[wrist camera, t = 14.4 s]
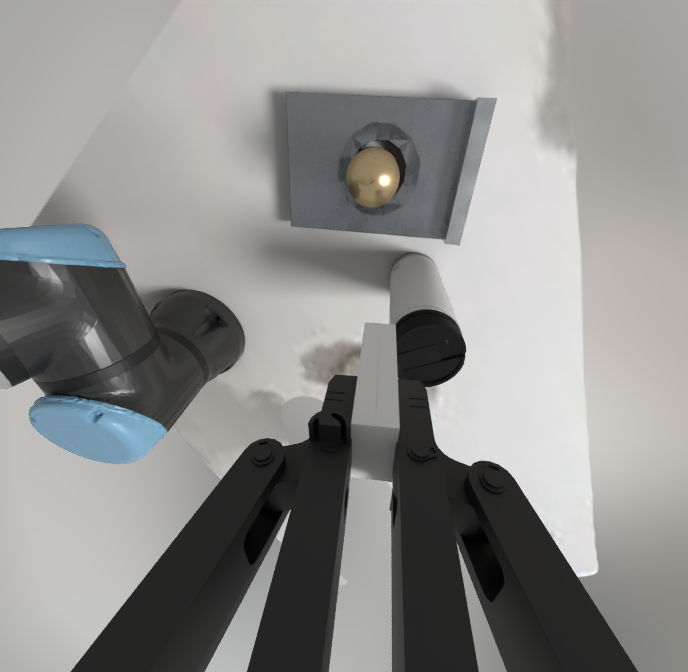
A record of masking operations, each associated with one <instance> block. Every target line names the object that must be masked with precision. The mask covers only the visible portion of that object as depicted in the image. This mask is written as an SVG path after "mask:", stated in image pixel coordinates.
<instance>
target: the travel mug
mask: <svg viewBox="0 0 688 672" xmlns="http://www.w3.org/2000/svg"><path fill="white" fill-rule="evenodd" d="M390 324H396V347H397V372H398V378H399V379H404V380H416V381H421V383H422V384H423V386H424V387H432V386H437V385H439V384H442V383H444V382H446V381H448V380H450V379H451V378H452V377H454V376H455V375H456V374H457V373H458V372H459V371H460V369H461V368H462V366H463V365H464V360H465V353H466V345H465V342H464V339H463V336H462V334H461V329H460V327H459V324H458V321H457V319H456V316H455V314H454V311H453V308H452V306H451V303H450V301H449V298H448V295H447V293H446V290H445V288H444V285H443V282H442V280H441V277H440V275H439V272H438V270H437V267H436V264H435V263H434V261H433V260H432V259H431V258H430V257H428V256H426V255H424V254H421V253H411V254H407V255H405V256H403V257H401V258H400V259H398V260H397V261H396V262H395V264H394V265H393V267H392V270H391V274H390Z"/></svg>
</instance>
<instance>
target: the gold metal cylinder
mask: <svg viewBox="0 0 688 672" xmlns="http://www.w3.org/2000/svg"><path fill="white" fill-rule="evenodd" d="M399 180H400V173H399V168H398V164H397V162H396V160H395V158H394V157H393V155H392V154H391V153H389V152H388V151H386V150H384V149H381V148H376V147H375V148H367V149H364V150H362V151H361V152H359V153H358V154H357V155H356V156H355V157H354V158H353V159H352V161H351V162H350V165H349V167H348V170H347V176H346V182H347V187H348V190H349V193H350V195H351V196H352V198H353V199H354V200H355V201H356V202H357V203H359V204H360V205H363V206H365V207H379V206H381V205H384V204H385V203H387V202H388V201H389V200H390V199H391V198H392V197H393V196H394V194H395V193H396V191H397V188H398V185H399Z"/></svg>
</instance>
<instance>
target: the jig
mask: <svg viewBox="0 0 688 672" xmlns="http://www.w3.org/2000/svg"><path fill="white" fill-rule="evenodd" d="M286 100H287V126H288V152H289V178H290V204H291V226H295V227H306V228H318V229H329V230H341V231H352V232H364V233H375V234H387V235H398V236H410V237H421V238H433V239H443V241H444V243H445V244H454V245H460V241H461V237H462V233H463V230H464V226H465V222H466V218H467V214H468V210H469V206H470V202H471V198H472V194H473V190H474V186H475V183H476V179H477V175H478V171H479V167H480V163H481V159H482V155H483V151H484V147H485V143H486V139H487V136H488V132H489V128H490V124H491V120H492V116H493V112H494V108H495V104H496V100H497V98H477V99H475V100H474V101H468V100H446V99H425V98H403V97H381V96H360V95H338V94H317V93H295V92H286ZM373 140H387V141H390V142H391V143H393V144H394V145H395V146H396V147H398V148H399V149H400V150H401V152H402V155H403V158H404V161H405V164H406V167H405V174H404V181H403V182H402V184H401V185H400V187H399V188H398V189H397V191H396V193H395V194H394V196H393V197H392V198H391V199H390V200H389V201H388V202H387V203H385V204H384V205H381V206H379V207H365V206H363V205H360V204H359V203H357V202H356V201H355V200H354V199H353V198H352V196H351V195H350V193H349V190H348V187H347V182H346V176H347V170H348V167H349V165H350V162H351V161H352V159H353V158H354V157H355V156H356V155H357V154H358V153H359V151H360V150H361V148H362V147H363V146H365V145H367V144H368V143H370V142H372V141H373Z"/></svg>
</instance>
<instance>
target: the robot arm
mask: <svg viewBox="0 0 688 672" xmlns="http://www.w3.org/2000/svg"><path fill="white" fill-rule="evenodd" d="M125 268H126V265H125V264H124V263H122V262H121V260H120V259H119V257H118V255H117V254H116V252H115V250H114V249H113V247H112V245H111V243H110V242H109V240H108V238H107V237H106V235H105V234H104V233H103V232H102V231H100V230H99V229H97V228H95V227H93V226H91V225H87V224H62V225H47V226H33V227H21V228H5V229H0V388H1V389H8V388H11V387H13V386H15V385H17V384H19V383H21V382H24V381H26V380H28V379H30V378H32V379H33V380H34V381H35V382H36V384H37V385H38V386H39V387H40V388H41V390H42V391H43V392H44V394H45V397H41V398H39V399H37V400H36V401H35V402H34V405H33V406H32V407H31V408H30V410H29V416H30V422H31V424H32V425H33V427H34V428H35V429H36V430H37V431H38V432H39V433H40V434H41V435H43V436H44V437H45V438H47V439H48V440H49V441H51V442H53V443H54V444H56V445H58V446H59V447H61V448H63V449H65V450H67V451H69V452H72V453H74V454H76V455H79V456H82V457H85V458H88V459H91V460H95V461H99V462H104V463H111V464H125V463H130V462H134V461H137V460H139V459H141V458H142V457H144V456H145V455H146V454H147V453H149V451H150V450H151V449H152V448H153V447H154V446H155V445H156V444H157V443H158V441H159V440H160V439H162V438H164V437H165V435H166V434H167V432H168V431H169V430H170V428H171V427H172V426H173V425H174V423H175V422H176V421H177V419H178V418H179V417H180V416H181V414H182V413H183V412H184V410H185V409H186V408H187V407H188V405H189V404H190V403H191V401H192V400H193V399H194V398H195V396H196V395H197V394H198V392H199V391H200V390H201V388H202V387H203V386H204V385H205V384H206V383H207V382H208V381H210V380H212V379H214V378H215V377H217V376H218V375H219V374H222V373H224V372H226V371H228V370H229V369H230V368H232V367H233V366H234V365H235V363H236V362H237V361H238V359H239V358H240V357H241V355H242V353H243V351H244V347H245V336H244V332H243V329H242V327H241V324H240V322H239V321H238V319H237V318H236V316H235V315H234V314H233V313H232V311H231V310H230V309H229V308H228V307H227V306H225V305H224V304H223V303H222V302H220V301H219V300H217V299H216V298H214V297H212V296H210V295H207V294H205V293H202V292H198V291H192V290H182V291H177V292H174V293H172V294H170V295H169V296H167V297H165V298H164V299H162V300H161V301H160V302H158V303H157V304H156V306H155V307H154V308H153V310H152V312H151V314H150V317H149V315H148V313H147V311H146V309H145V307H144V305H143V303H142V301H141V300H140V298H139V296H138V294H137V292H136V289H135V287H134V285H133V283H132V281H131V279H130V277H129V275H128V273H127V271H126V269H125ZM308 427H309V439H308V440H306V441H304V442H302V443H298V444H294V445H288V446H282V444H281V443H280V442H279V441H277V440H275V439H269V438H266V439H260V440H257V441H255V442H253V443H252V444H250V445H249V446H248V447H247V448H246V449H245V450H244V452H243V453H242V454H241V455H240V457H239V458H238V459H237V461H236V462H235V463H234V464H233V466H232V467H231V468H230V469H229V471H228V472H227V473H226V475H225V476H224V477H223V478H222V480H221V481H220V482H219V484H218V485H217V486H216V487H215V489H214V490H213V491H212V492H211V494H210V495H209V496H208V498H207V499H206V500H205V501H204V503H203V504H202V505H201V506H200V508H199V509H198V510H197V511H196V513H195V514H194V515H193V517H192V518H191V519H190V520H189V522H188V523H187V524H186V525H185V527H184V528H183V529H182V531H181V532H180V533H179V535H178V536H177V537H176V538H175V540H174V541H173V542H172V543H171V545H170V546H169V547H168V549H167V550H166V551H165V553H164V554H163V555H162V556H161V557H160V559H159V560H158V561H157V563H156V564H155V565H154V566H153V568H152V569H151V570H150V572H149V573H148V574H147V575H146V576H145V578H144V579H143V580H142V582H141V583H140V584H139V585H138V587H137V588H136V589H135V591H134V592H133V593H132V595H131V596H130V597H129V598H128V599H127V601H126V602H125V603H124V604H123V606H122V607H121V608H120V610H119V611H118V612H117V613H116V615H115V616H114V617H113V618H112V620H111V621H110V622H109V624H108V625H107V626H106V627H105V629H104V630H103V631H102V633H101V634H100V635H99V636H98V638H97V639H96V640H95V641H94V643H93V644H92V645H91V647H90V648H89V649H88V650H87V652H86V653H85V654H84V656H83V657H82V658H81V659H80V661H79V662H78V663H77V664H76V666H75V667H74V668H73V670H72V671H71V672H205V670H206V668H207V666H208V664H209V662H210V661H211V658H212V657H213V655H214V653H215V651H216V649H217V647H218V645H219V643H220V642H221V640H222V638H223V636H224V634H225V632H226V630H227V628H228V626H229V624H230V623H231V621H232V619H233V617H234V615H235V613H236V611H237V609H238V607H239V605H240V604H241V602H242V600H243V598H244V596H245V594H246V592H247V590H248V588H249V586H250V585H251V582H252V581H253V579H254V577H255V575H256V573H257V571H258V569H259V567H260V566H261V564H262V562H263V560H264V558H265V556H266V554H267V552H268V550H269V549H270V546H271V545H272V543H273V541H274V539H275V537H276V535H277V533H278V531H279V530H280V528H281V526H282V524H283V522H284V520H285V518H286V516H287V514H288V512H289V511H290V509H291V512H290V515H289V519H288V523H287V526H286V530H285V534H284V537H283V541H282V545H281V548H280V552H279V556H278V560H277V563H276V567H275V571H274V574H273V578H272V582H271V585H270V590H269V593H268V596H267V600H266V604H265V608H264V611H263V615H262V618H261V622H260V626H259V630H258V633H257V637H256V641H255V644H254V648H253V652H252V655H251V659H250V663H249V666H248V670H247V672H329V664H330V656H331V647H332V638H333V630H334V620H335V611H336V602H337V594H338V586H339V577H340V568H341V559H342V551H343V542H344V533H345V524H346V515H347V507H348V498H349V482H350V477H357V478H365V479H373V480H381V481H389V482H392V479H393V490H392V497H391V503H390V510H391V519H392V520H391V524H392V525H391V529H392V530H391V532H392V535H391V537H392V672H479V671H478V665H477V659H476V653H475V647H474V642H473V636H472V630H471V624H470V618H469V612H468V607H467V601H466V595H465V589H464V583H463V577H462V572H461V566H460V560H459V554H458V548H457V544H458V547H459V549H460V552H461V554H462V557H463V559H464V562H465V565H466V567H467V570H468V572H469V575H470V577H471V580H472V582H473V585H474V588H475V590H476V593H477V595H478V598H479V601H480V603H481V606H482V608H483V611H484V613H485V616H486V618H487V621H488V624H489V626H490V629H491V631H492V634H493V637H494V639H495V642H496V644H497V647H498V649H499V652H500V655H501V657H502V660H503V662H504V665H505V667H506V670H507V672H638V671H637V669H636V668H635V666H634V665H633V663H632V661H631V660H630V659H629V657H628V655H627V654H626V652H625V651H624V649H623V648H622V646H621V644H620V643H619V641H618V640H617V638H616V637H615V635H614V633H613V632H612V630H611V629H610V627H609V626H608V624H607V623H606V621H605V619H604V618H603V616H602V615H601V613H600V612H599V610H598V609H597V607H596V605H595V604H594V602H593V601H592V599H591V598H590V596H589V594H588V593H587V592H586V590H585V588H584V587H583V585H582V584H581V582H580V580H579V579H578V577H577V576H576V574H575V573H574V571H573V570H572V568H571V566H570V565H569V563H568V562H567V560H566V559H565V557H564V556H563V554H562V552H561V551H560V549H559V548H558V546H557V545H556V543H555V541H554V540H553V538H552V537H551V535H550V534H549V532H548V531H547V529H546V527H545V526H544V524H543V523H542V521H541V520H540V518H539V517H538V515H537V513H536V512H535V510H534V509H533V507H532V506H531V504H530V503H529V501H528V499H527V498H526V496H525V495H524V493H523V492H522V490H521V488H520V487H519V485H518V484H517V482H516V481H515V479H514V478H513V477H512V476H511V474H510V473H509V472H508V471H507V470H505V469H504V468H503V467H501V466H500V465H498V464H495V463H492V462H490V461H479V462H475V463H473V464H472V465H471V467H470V466H468V465H465V464H463V463H460V462H458V461H455V460H453V459H451V458H449V457H448V456H446V455H445V454H444V453H443V452H442V451H441V450H440V449H439V448H438V446H437V445H436V442H435V439H434V434H433V427H432V421H431V415H430V409H429V402H428V396H427V390H426V388H425V387H424V386H423V384H422V383H421V381H416V380H404V379H398V372H397V347H396V324H380V323H365V327H364V335H363V342H362V349H361V356H360V363H359V370H358V376H347V375H335V376H334V377H333V378H332V379H331V380H330V381H329V384H328V388H327V393H326V395H325V400H324V403H323V407H322V411H321V412H318V413H316V414H315V415H314V416H312V418H311V419H310V421H309V423H308ZM456 541H457V542H456Z"/></svg>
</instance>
